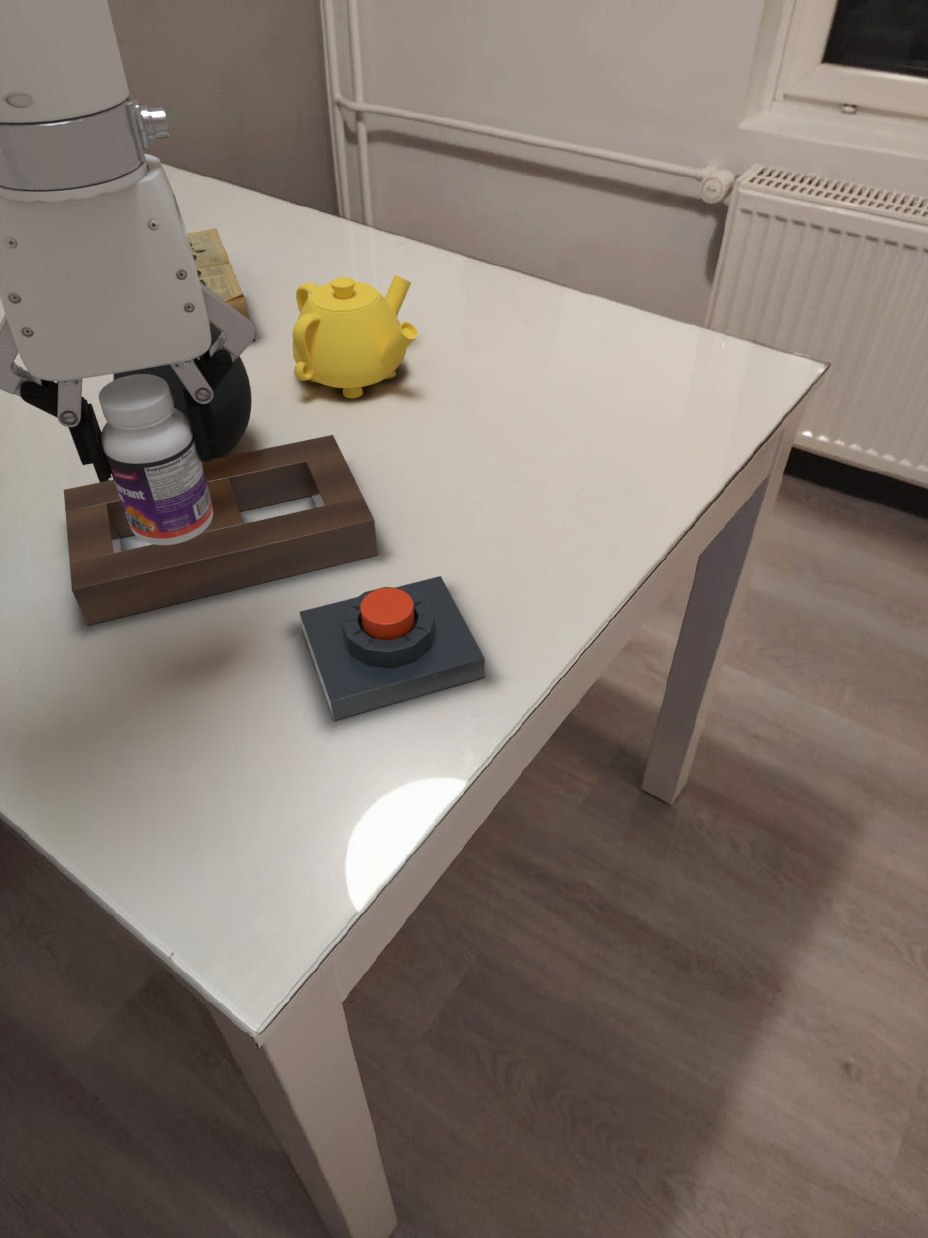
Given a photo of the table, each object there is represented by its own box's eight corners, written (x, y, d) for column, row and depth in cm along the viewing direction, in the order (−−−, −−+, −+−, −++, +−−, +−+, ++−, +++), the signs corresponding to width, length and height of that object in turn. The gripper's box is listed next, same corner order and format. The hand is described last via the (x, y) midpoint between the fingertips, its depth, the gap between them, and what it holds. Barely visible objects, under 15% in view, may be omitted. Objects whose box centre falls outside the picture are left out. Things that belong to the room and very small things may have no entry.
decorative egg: (287, 444, 90) (263, 305, 79) (205, 508, 82) (166, 363, 72) (198, 412, 94) (164, 276, 84) (112, 469, 87) (63, 328, 76)
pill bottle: (117, 517, 58) (71, 386, 51) (192, 487, 60) (156, 358, 53) (152, 559, 55) (107, 425, 48) (229, 525, 57) (197, 394, 50)
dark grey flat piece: (333, 721, 64) (327, 685, 61) (302, 630, 71) (295, 595, 68) (484, 677, 67) (485, 641, 64) (441, 594, 74) (440, 559, 71)
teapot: (420, 405, 95) (416, 307, 87) (295, 412, 94) (279, 313, 86) (413, 343, 105) (408, 250, 98) (300, 348, 104) (286, 255, 97)
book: (257, 341, 106) (248, 293, 101) (116, 365, 102) (101, 316, 97) (224, 262, 122) (215, 218, 118) (102, 280, 118) (88, 235, 114)
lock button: (370, 646, 64) (368, 629, 63) (356, 611, 67) (354, 594, 66) (421, 632, 65) (420, 616, 64) (405, 598, 68) (404, 582, 67)
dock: (378, 555, 77) (374, 519, 75) (87, 625, 71) (71, 590, 68) (337, 468, 87) (333, 434, 84) (77, 524, 81) (63, 489, 78)
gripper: (227, 106, 46) (279, 406, 59) (-127, 140, 42) (10, 454, 55) (251, 148, 41) (301, 465, 54) (-149, 191, 37) (8, 523, 50)
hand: (154, 457), depth 54 cm, fingers closed on pill bottle, 5 cm apart
